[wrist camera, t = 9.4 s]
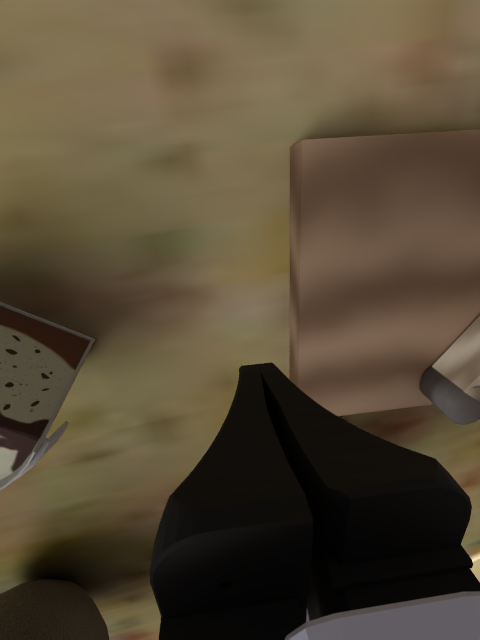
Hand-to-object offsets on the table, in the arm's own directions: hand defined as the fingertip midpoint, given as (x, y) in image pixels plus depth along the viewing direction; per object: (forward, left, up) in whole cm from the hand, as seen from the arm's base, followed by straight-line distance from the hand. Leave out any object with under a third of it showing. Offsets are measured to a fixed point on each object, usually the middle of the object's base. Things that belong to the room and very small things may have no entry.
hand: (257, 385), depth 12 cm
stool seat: (0, -15, -10) cm, 18 cm away
